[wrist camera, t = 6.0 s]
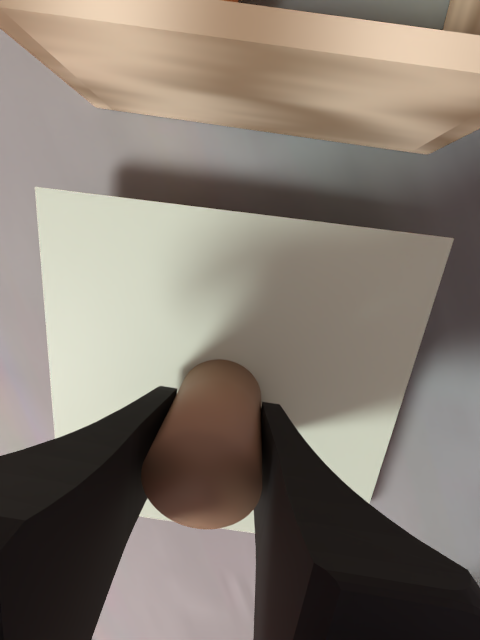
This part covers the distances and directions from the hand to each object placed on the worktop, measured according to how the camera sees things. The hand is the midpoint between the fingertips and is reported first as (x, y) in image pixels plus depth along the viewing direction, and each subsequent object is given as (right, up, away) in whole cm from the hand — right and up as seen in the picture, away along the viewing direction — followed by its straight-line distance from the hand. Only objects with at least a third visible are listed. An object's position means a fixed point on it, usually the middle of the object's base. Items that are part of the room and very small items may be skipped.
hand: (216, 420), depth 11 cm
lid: (0, +1, +1) cm, 1 cm away
